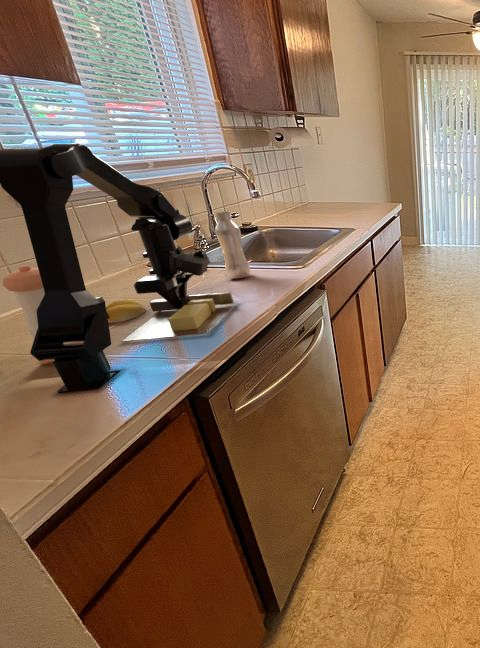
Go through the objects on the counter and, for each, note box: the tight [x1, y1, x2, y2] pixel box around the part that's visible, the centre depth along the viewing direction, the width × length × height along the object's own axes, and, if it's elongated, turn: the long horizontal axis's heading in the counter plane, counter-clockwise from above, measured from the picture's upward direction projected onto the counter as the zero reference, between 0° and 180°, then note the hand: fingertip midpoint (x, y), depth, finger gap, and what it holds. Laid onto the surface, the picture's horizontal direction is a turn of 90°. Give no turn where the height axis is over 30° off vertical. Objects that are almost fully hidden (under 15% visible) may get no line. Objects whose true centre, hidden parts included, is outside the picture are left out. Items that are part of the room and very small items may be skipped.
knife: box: [149, 291, 235, 312], centre depth 100 cm, size 18×2×3 cm, turn 101°
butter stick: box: [168, 303, 211, 331], centre depth 93 cm, size 8×5×3 cm, turn 11°
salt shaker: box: [2, 264, 84, 365], centre depth 77 cm, size 7×7×19 cm
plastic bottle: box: [214, 211, 251, 279], centre depth 121 cm, size 6×7×20 cm
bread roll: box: [106, 299, 147, 324], centre depth 97 cm, size 8×9×4 cm
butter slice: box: [188, 298, 216, 312], centre depth 98 cm, size 2×5×3 cm, turn 102°
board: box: [122, 301, 237, 342], centre depth 95 cm, size 18×17×1 cm
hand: (181, 306), depth 100 cm, fingers closed on knife, 2 cm apart
